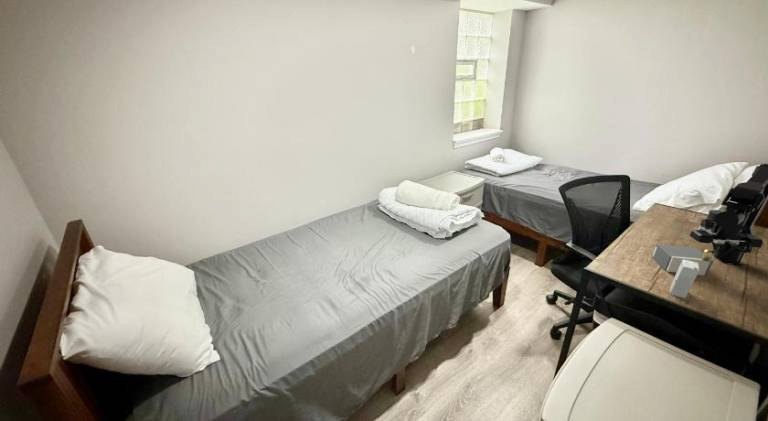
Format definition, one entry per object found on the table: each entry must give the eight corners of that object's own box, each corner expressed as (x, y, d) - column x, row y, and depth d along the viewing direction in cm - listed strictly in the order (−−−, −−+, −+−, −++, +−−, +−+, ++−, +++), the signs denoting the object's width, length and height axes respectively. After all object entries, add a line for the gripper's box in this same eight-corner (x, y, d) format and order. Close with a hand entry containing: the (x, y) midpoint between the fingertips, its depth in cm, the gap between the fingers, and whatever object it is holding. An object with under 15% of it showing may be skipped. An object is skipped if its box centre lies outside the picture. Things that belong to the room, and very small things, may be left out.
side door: (701, 273, 122) (711, 249, 118) (705, 276, 120) (716, 252, 116) (665, 269, 125) (674, 246, 120) (668, 272, 123) (678, 249, 118)
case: (690, 261, 130) (696, 247, 128) (706, 274, 121) (713, 260, 119) (651, 257, 133) (656, 244, 131) (664, 270, 124) (670, 256, 122)
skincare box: (669, 286, 115) (681, 258, 111) (686, 290, 113) (698, 262, 108) (669, 294, 111) (681, 265, 106) (686, 299, 108) (699, 270, 104)
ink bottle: (691, 230, 155) (700, 208, 151) (710, 230, 155) (720, 208, 150) (708, 239, 147) (718, 216, 142) (728, 240, 146) (739, 217, 141)
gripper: (747, 214, 116) (730, 250, 122) (688, 210, 121) (674, 245, 127) (773, 226, 106) (753, 265, 112) (707, 222, 111) (691, 259, 117)
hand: (716, 258), depth 117 cm, fingers closed
